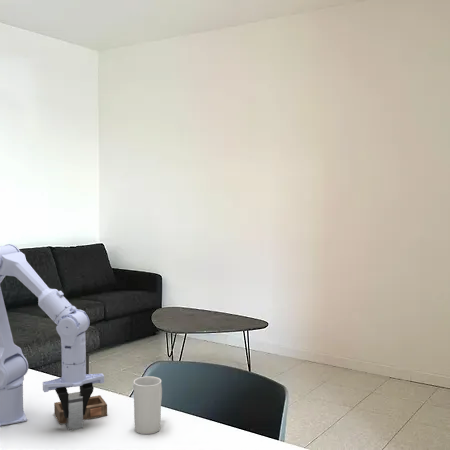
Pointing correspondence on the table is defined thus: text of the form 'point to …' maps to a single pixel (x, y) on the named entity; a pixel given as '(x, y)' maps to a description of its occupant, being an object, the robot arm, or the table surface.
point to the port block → (93, 409)
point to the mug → (147, 404)
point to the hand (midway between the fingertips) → (74, 415)
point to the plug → (75, 411)
